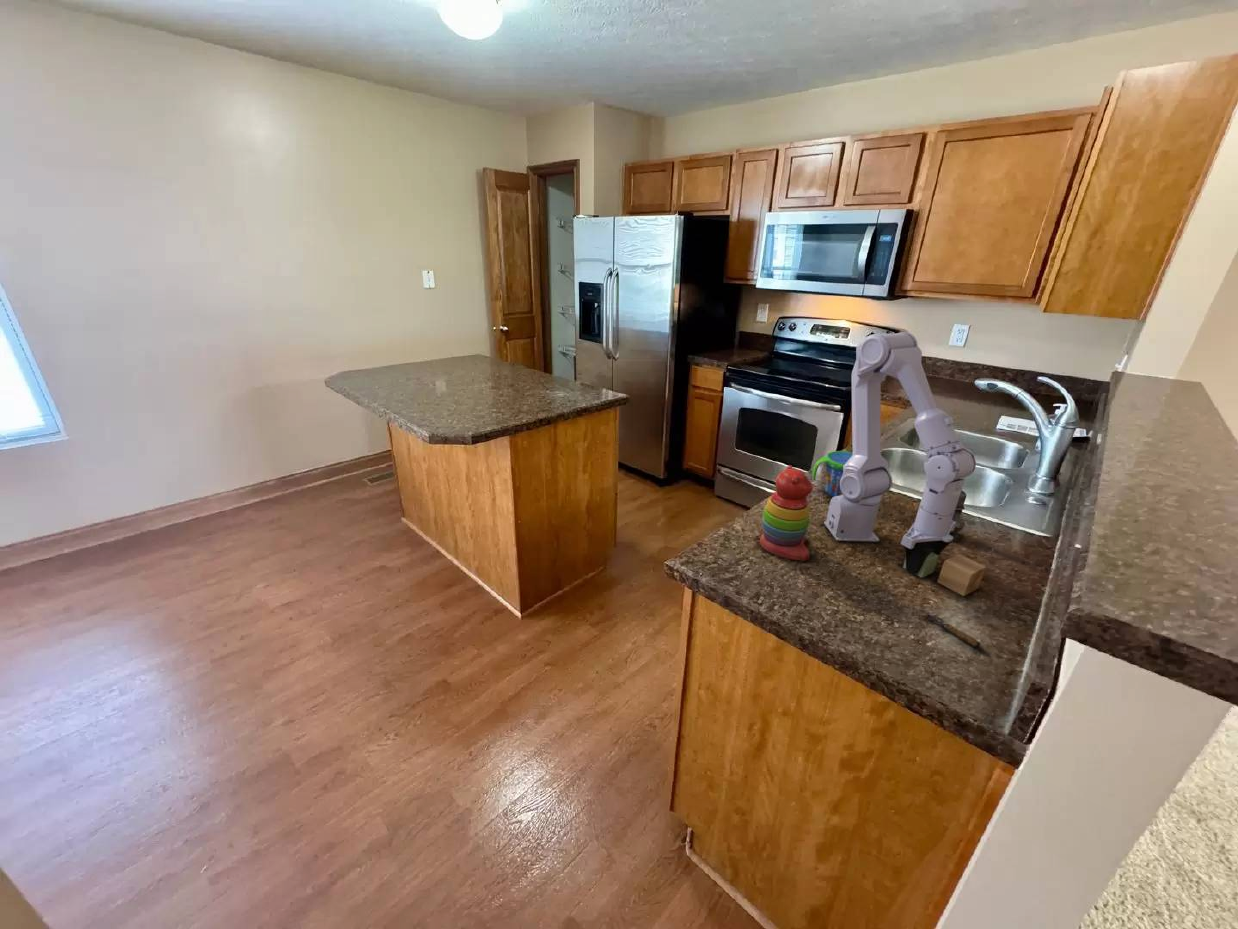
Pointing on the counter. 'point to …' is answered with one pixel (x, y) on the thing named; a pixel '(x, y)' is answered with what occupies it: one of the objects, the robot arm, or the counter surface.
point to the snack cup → (833, 470)
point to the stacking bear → (787, 516)
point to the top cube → (927, 565)
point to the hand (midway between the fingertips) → (918, 568)
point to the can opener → (955, 631)
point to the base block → (961, 574)
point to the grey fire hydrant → (958, 516)
